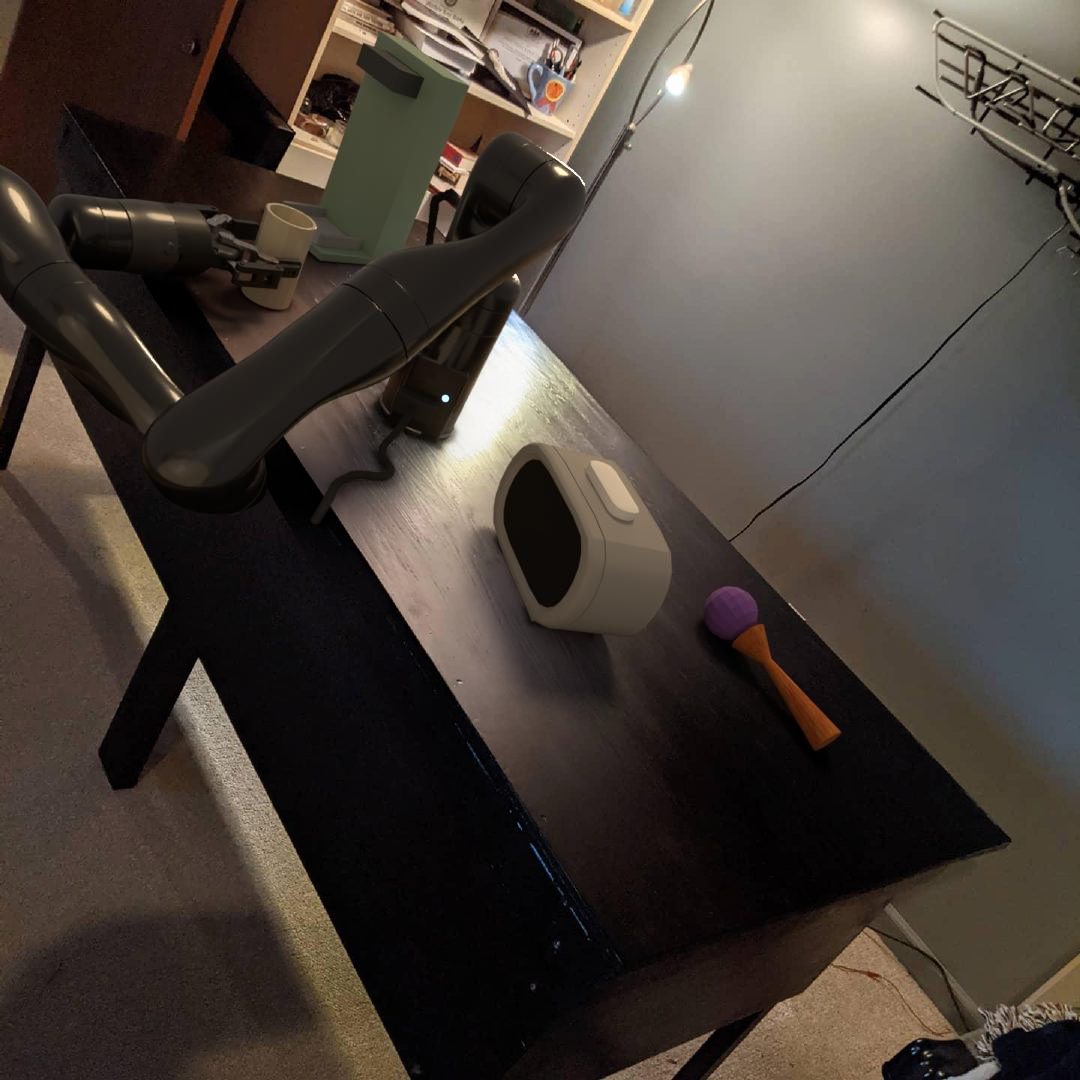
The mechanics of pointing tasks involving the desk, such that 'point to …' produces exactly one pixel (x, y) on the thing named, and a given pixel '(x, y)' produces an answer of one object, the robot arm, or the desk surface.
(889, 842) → the desk surface
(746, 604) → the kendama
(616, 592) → the alarm clock
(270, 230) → the beige cylindrical cup
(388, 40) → the coffee maker
